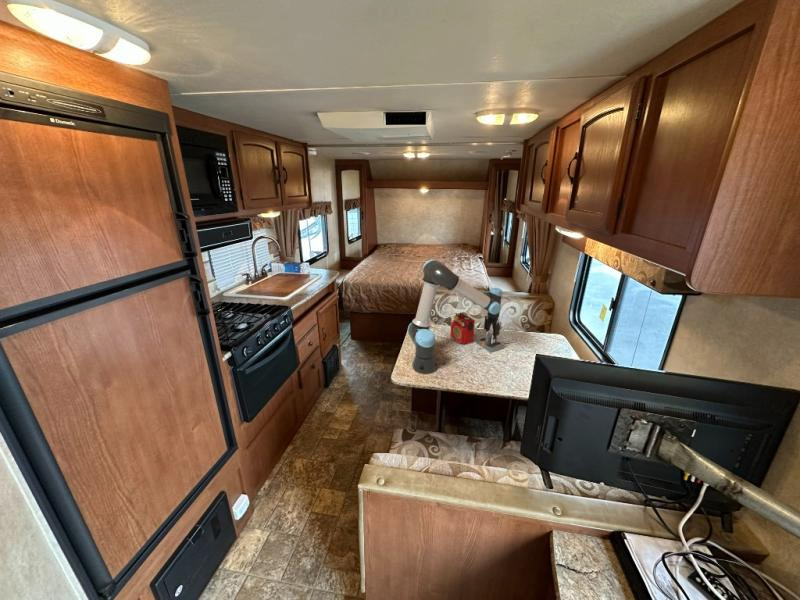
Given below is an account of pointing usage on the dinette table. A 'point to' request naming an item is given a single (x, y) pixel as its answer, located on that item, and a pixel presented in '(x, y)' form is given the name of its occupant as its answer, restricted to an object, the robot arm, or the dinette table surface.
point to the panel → (489, 338)
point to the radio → (462, 328)
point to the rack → (490, 345)
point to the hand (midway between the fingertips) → (490, 341)
